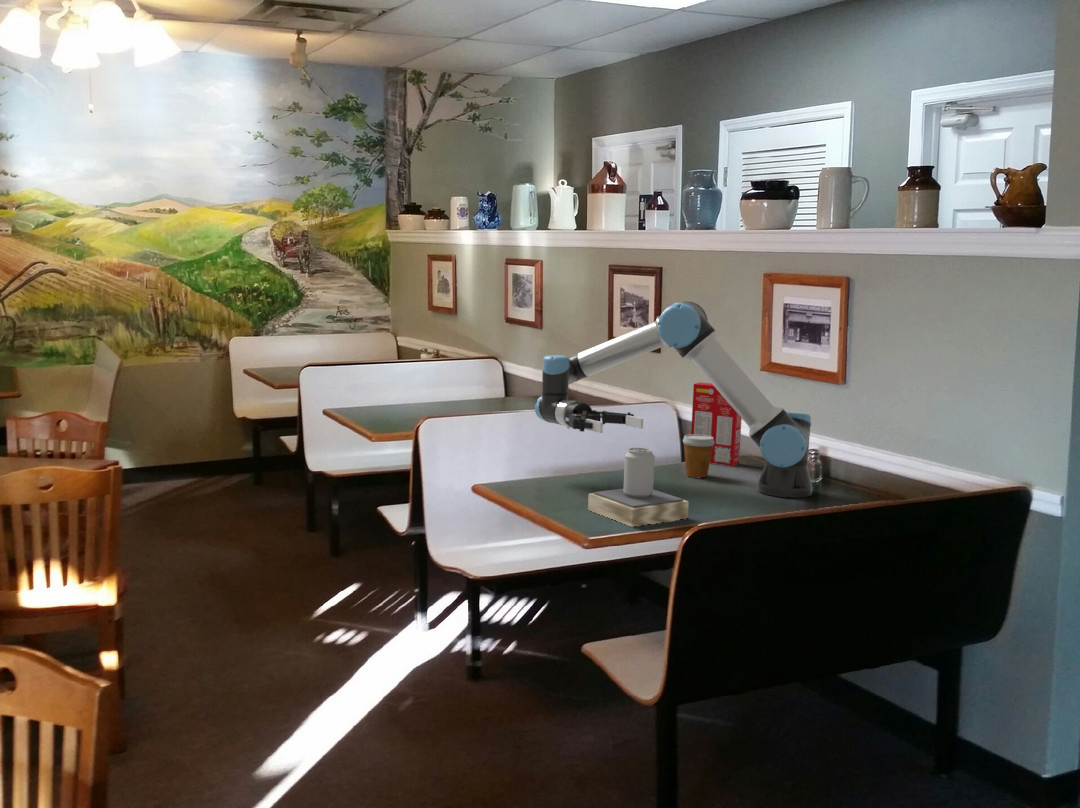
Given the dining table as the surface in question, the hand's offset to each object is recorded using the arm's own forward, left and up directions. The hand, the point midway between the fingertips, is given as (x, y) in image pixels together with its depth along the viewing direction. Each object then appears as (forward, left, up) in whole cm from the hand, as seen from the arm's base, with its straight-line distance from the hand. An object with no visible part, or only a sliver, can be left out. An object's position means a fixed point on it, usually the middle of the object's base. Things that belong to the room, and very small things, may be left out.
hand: (622, 425), depth 276 cm
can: (-9, +9, -16) cm, 21 cm away
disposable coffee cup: (-7, -45, -21) cm, 50 cm away
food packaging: (-5, -69, -21) cm, 72 cm away
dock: (-9, +9, -21) cm, 25 cm away
